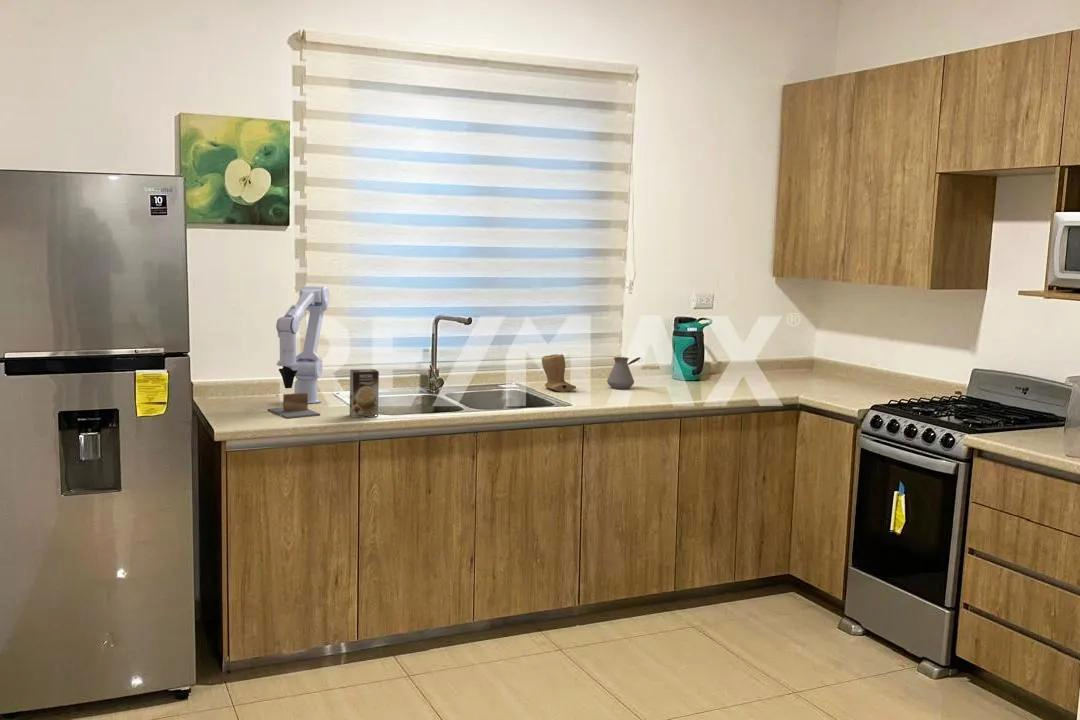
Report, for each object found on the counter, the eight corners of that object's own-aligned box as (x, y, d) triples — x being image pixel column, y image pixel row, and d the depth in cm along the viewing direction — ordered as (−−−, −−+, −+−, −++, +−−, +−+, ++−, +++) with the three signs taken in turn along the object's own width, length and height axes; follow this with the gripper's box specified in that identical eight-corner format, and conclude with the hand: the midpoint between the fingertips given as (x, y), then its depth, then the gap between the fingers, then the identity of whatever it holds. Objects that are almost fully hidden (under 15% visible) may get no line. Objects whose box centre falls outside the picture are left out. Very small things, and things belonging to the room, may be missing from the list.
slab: (283, 410, 354) (283, 394, 353) (304, 408, 359) (304, 392, 358) (286, 412, 352) (286, 395, 351) (307, 410, 357) (307, 393, 356)
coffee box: (352, 417, 347) (352, 372, 345) (349, 414, 353) (349, 369, 351) (379, 416, 350) (378, 371, 348) (375, 413, 356) (375, 368, 354)
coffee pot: (601, 386, 428) (602, 351, 426) (625, 385, 433) (626, 350, 431) (627, 394, 409) (628, 358, 407) (651, 392, 413) (652, 356, 412)
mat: (267, 410, 358) (267, 408, 358) (299, 407, 365) (299, 405, 365) (287, 418, 343) (287, 416, 343) (320, 415, 350) (320, 413, 350)
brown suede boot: (537, 387, 422) (538, 352, 420) (563, 386, 426) (564, 351, 424) (549, 393, 408) (550, 356, 406) (576, 392, 411) (577, 356, 409)
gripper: (269, 348, 361) (269, 386, 363) (285, 353, 349) (285, 391, 351) (288, 347, 365) (288, 384, 367) (304, 352, 354) (304, 390, 355)
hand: (288, 388), depth 359 cm, fingers closed
